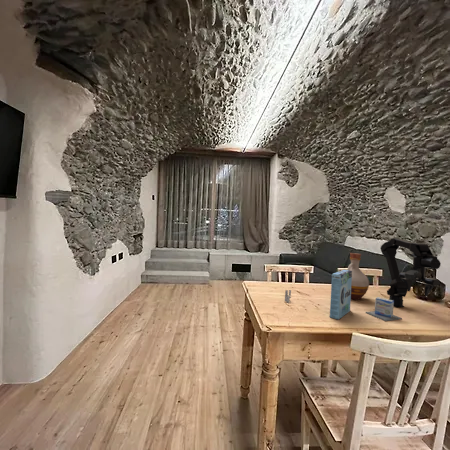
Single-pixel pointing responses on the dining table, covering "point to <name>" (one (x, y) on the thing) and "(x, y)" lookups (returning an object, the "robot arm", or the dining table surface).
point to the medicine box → (384, 307)
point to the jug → (357, 278)
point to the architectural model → (287, 295)
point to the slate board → (383, 316)
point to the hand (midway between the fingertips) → (417, 293)
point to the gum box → (340, 294)
